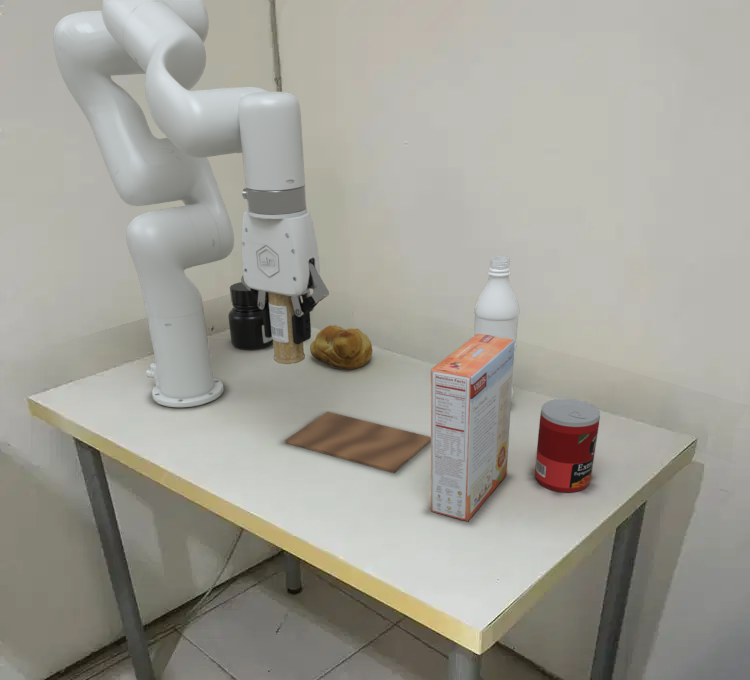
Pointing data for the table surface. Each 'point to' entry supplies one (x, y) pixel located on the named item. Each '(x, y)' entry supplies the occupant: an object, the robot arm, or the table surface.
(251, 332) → the ink bottle
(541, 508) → the table surface
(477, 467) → the cracker box
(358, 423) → the wooden board
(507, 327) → the water bottle
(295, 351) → the spice jar
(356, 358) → the bread roll
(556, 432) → the canned food
